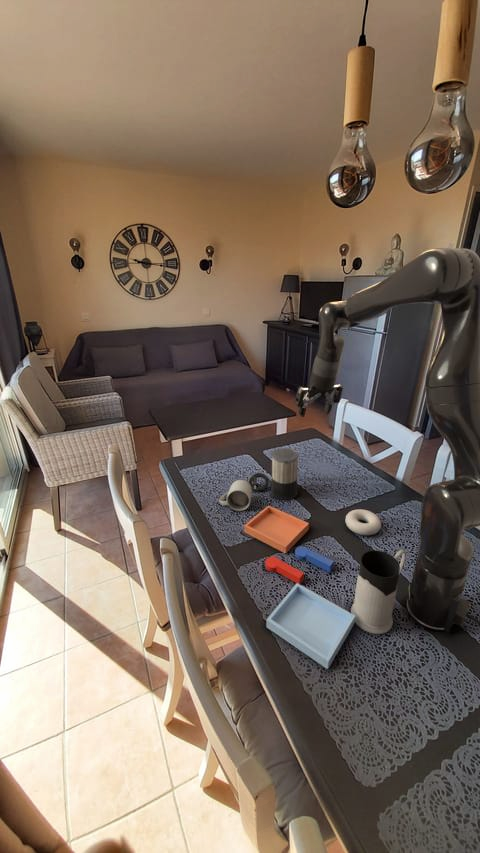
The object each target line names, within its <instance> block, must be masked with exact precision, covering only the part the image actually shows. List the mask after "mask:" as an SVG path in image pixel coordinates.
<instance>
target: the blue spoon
mask: <svg viewBox="0 0 480 853" xmlns="http://www.w3.org/2000/svg"><path fill="white" fill-rule="evenodd" d="M294 555H295V558H296V559H297V560H299V561H307V562H308V563H310V564H312V565H314V566H316V567H318V568H320V569H322V570H323V571H326V572H327V573H331V571H333V569H334V565H335V562H334V561H333V560H332V559H330V558H329V557H326V556H324V555H322V554H319V553H318V552H316V551H314V550H311V549H309V548H308V547H306V546H298V547H296V548H295V550H294Z"/></svg>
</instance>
